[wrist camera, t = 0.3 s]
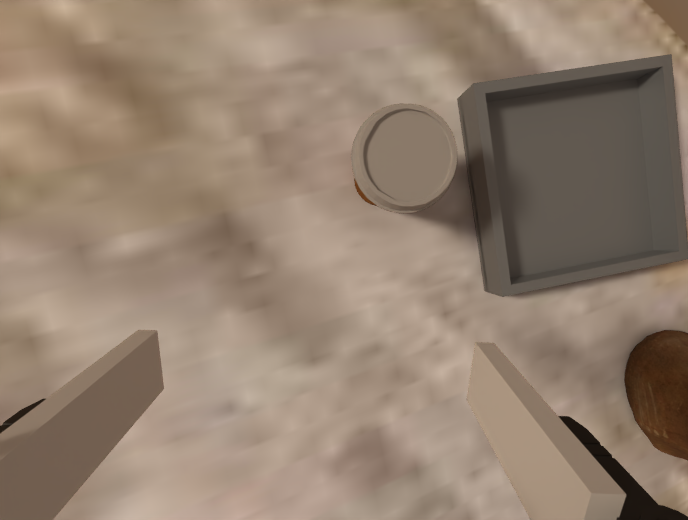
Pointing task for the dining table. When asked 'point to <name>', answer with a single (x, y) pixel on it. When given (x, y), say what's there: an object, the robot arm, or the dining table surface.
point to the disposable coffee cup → (403, 158)
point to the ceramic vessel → (661, 390)
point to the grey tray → (574, 174)
